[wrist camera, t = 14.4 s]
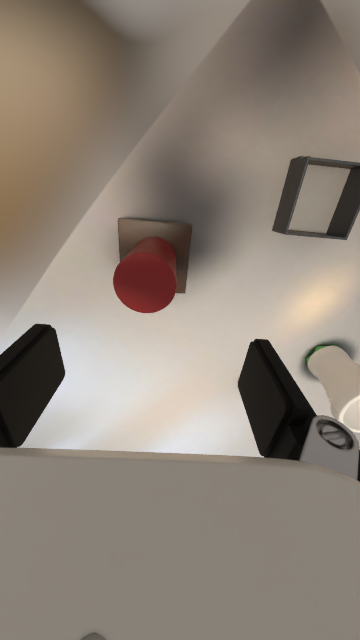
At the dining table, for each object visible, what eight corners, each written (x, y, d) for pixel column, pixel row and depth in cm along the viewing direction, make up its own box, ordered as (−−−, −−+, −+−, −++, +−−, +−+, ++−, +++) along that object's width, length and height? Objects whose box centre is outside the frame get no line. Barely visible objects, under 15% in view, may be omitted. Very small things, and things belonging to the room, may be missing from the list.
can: (131, 234, 30) (110, 250, 20) (177, 238, 30) (179, 255, 20) (132, 279, 33) (115, 311, 23) (174, 282, 33) (174, 315, 24)
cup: (341, 373, 50) (396, 430, 37) (292, 377, 50) (331, 435, 38) (355, 332, 44) (426, 383, 32) (301, 337, 45) (350, 390, 32)
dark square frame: (291, 159, 30) (308, 152, 26) (354, 166, 31) (380, 161, 27) (272, 230, 35) (284, 234, 31) (327, 235, 35) (346, 239, 31)
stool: (125, 216, 33) (117, 218, 29) (189, 222, 34) (191, 225, 29) (127, 278, 38) (121, 289, 34) (183, 283, 38) (185, 293, 34)
